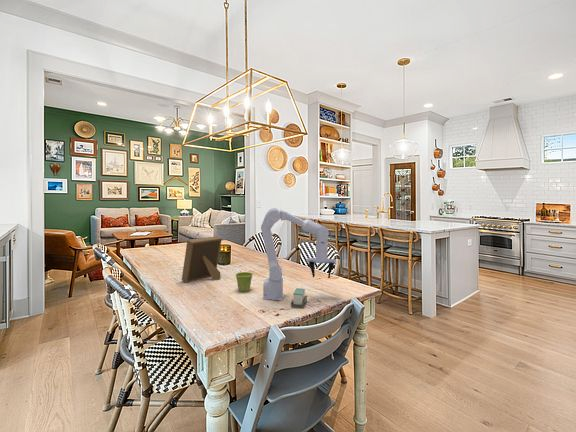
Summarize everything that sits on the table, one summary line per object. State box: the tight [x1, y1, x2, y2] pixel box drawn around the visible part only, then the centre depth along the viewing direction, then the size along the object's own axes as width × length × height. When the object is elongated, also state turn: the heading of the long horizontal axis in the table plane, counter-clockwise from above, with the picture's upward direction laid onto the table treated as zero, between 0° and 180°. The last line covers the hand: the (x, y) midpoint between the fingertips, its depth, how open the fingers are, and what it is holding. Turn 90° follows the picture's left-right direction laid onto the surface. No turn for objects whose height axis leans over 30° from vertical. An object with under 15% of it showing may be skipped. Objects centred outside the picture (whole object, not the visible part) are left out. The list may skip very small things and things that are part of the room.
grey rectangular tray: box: [290, 295, 308, 309], centre depth 140 cm, size 6×11×2 cm, turn 168°
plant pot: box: [235, 271, 254, 293], centre depth 159 cm, size 9×9×9 cm
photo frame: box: [181, 235, 222, 283], centre depth 178 cm, size 15×22×25 cm
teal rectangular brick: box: [292, 287, 306, 305], centre depth 139 cm, size 4×8×5 cm, turn 168°
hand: (321, 277), depth 149 cm, fingers open, 7 cm apart
